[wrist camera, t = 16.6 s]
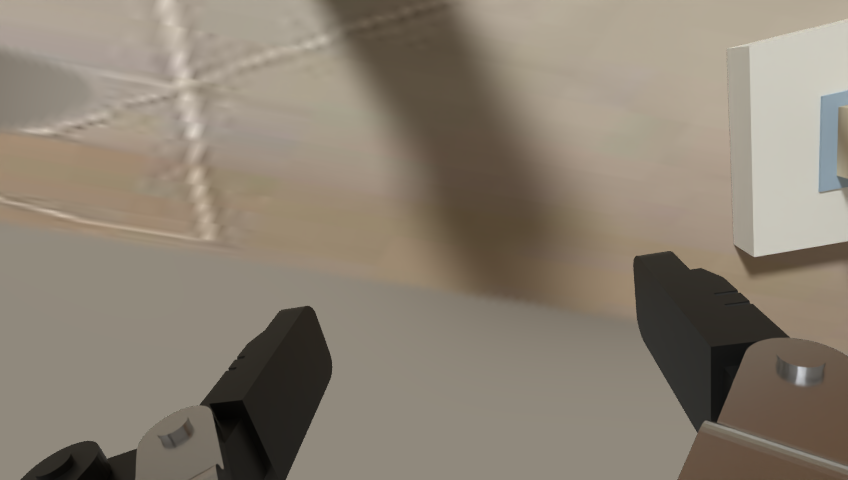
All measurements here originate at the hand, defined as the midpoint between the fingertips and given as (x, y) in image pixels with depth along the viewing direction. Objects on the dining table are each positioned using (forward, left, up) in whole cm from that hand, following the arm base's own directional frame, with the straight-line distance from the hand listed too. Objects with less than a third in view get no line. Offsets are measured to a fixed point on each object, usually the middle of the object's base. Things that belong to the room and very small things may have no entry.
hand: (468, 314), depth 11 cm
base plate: (+5, +28, -29) cm, 41 cm away
